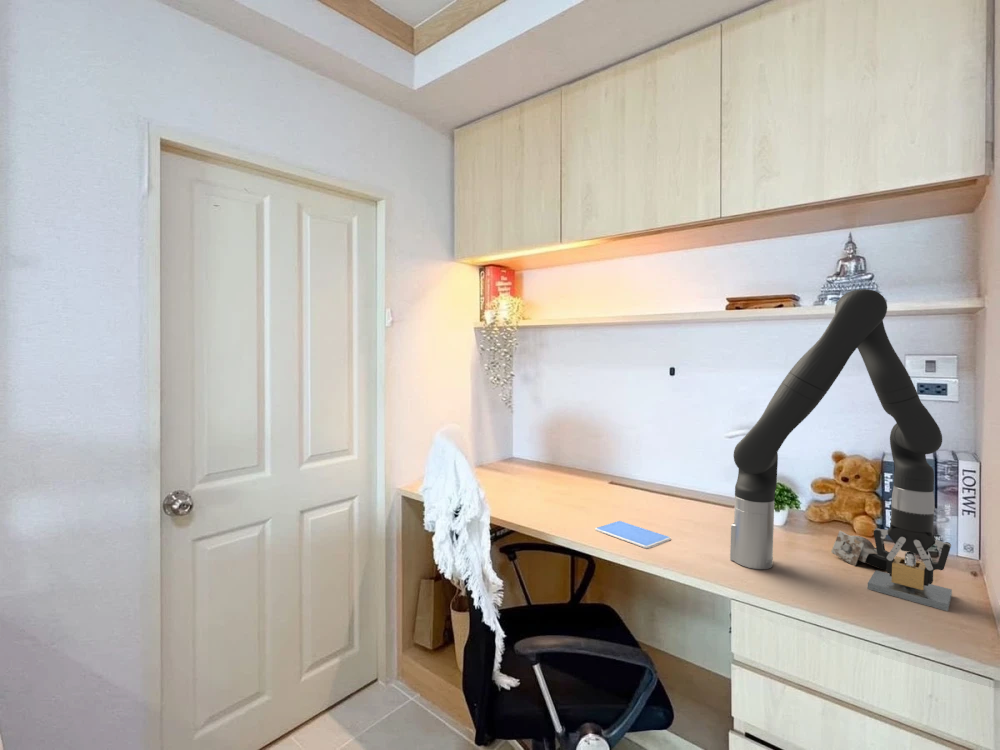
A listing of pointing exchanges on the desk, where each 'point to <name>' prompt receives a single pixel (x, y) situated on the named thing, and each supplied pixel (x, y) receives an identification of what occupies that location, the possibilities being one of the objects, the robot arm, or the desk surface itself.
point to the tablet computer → (633, 534)
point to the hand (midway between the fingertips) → (909, 579)
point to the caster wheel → (857, 550)
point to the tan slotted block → (908, 573)
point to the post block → (928, 596)
